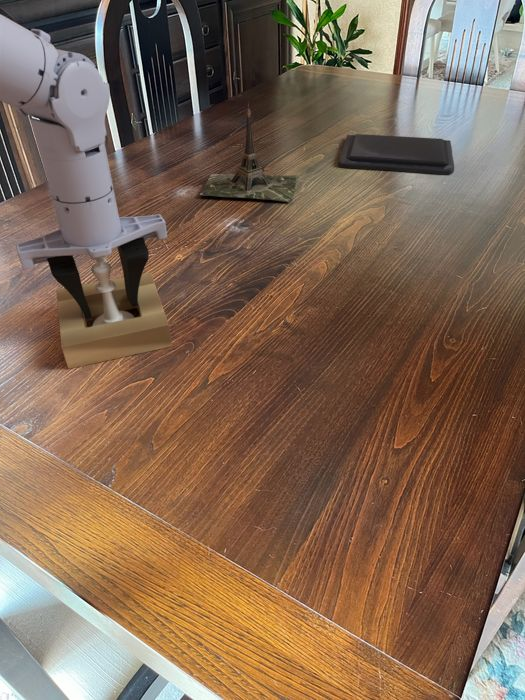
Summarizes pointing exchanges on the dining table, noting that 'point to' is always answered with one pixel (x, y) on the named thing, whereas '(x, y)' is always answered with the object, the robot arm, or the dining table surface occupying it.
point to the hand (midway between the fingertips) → (110, 307)
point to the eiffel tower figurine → (250, 178)
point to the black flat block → (397, 154)
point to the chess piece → (107, 293)
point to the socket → (112, 325)
